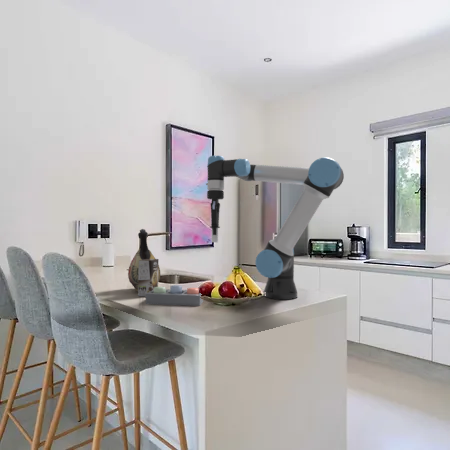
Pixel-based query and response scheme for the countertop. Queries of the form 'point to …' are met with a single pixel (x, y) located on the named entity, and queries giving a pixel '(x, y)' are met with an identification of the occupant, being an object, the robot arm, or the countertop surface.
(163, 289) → the button sage
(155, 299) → the panel
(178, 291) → the button slate
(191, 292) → the button coral
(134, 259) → the ceramic jug
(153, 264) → the coffee box
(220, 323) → the countertop surface
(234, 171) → the robot arm
